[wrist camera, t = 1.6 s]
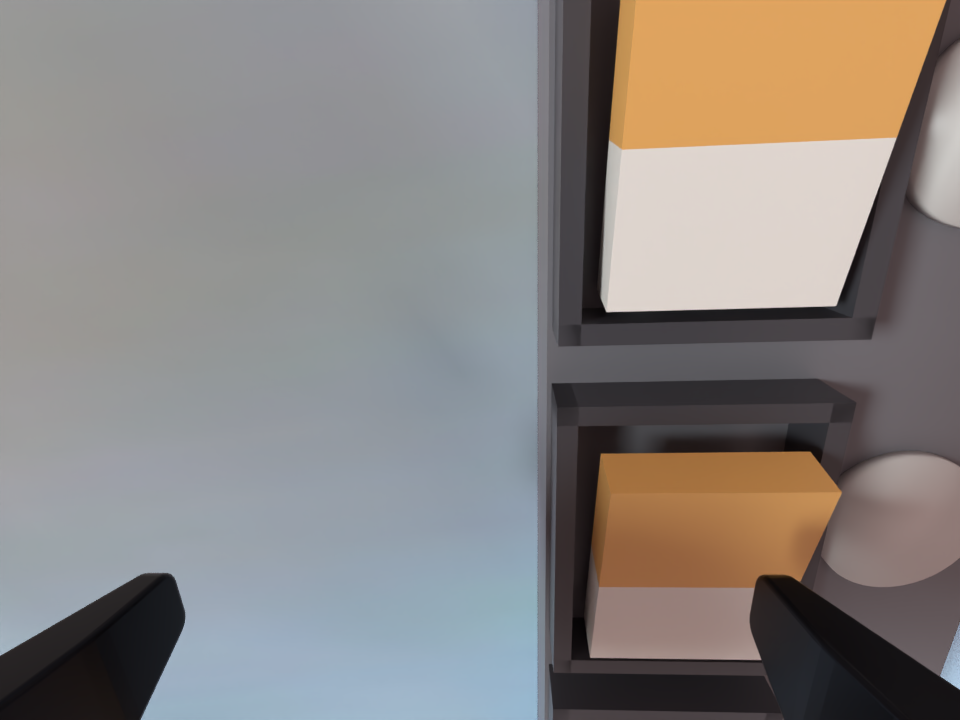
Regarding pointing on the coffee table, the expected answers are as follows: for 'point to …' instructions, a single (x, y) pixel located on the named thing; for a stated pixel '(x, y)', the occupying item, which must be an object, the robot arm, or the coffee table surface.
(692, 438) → the power strip
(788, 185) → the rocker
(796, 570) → the rocker middle
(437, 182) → the coffee table surface
